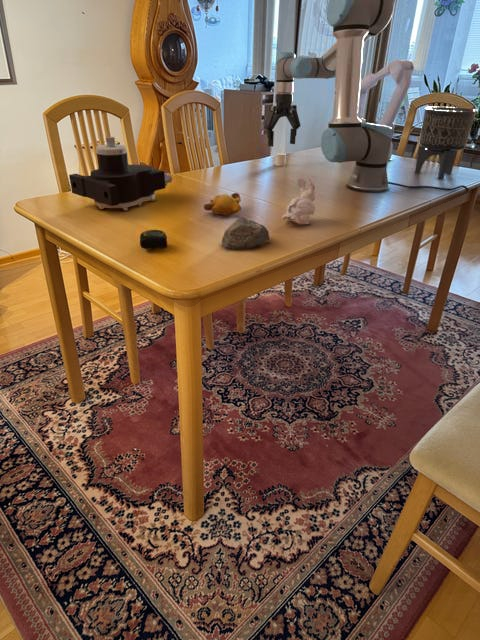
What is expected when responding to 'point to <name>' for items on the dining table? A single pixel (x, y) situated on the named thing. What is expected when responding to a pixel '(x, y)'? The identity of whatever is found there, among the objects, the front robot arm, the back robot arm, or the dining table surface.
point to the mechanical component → (118, 179)
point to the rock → (245, 234)
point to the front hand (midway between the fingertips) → (281, 145)
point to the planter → (444, 136)
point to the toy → (224, 204)
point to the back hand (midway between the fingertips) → (352, 136)
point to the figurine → (301, 204)
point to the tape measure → (153, 239)
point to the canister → (280, 159)
